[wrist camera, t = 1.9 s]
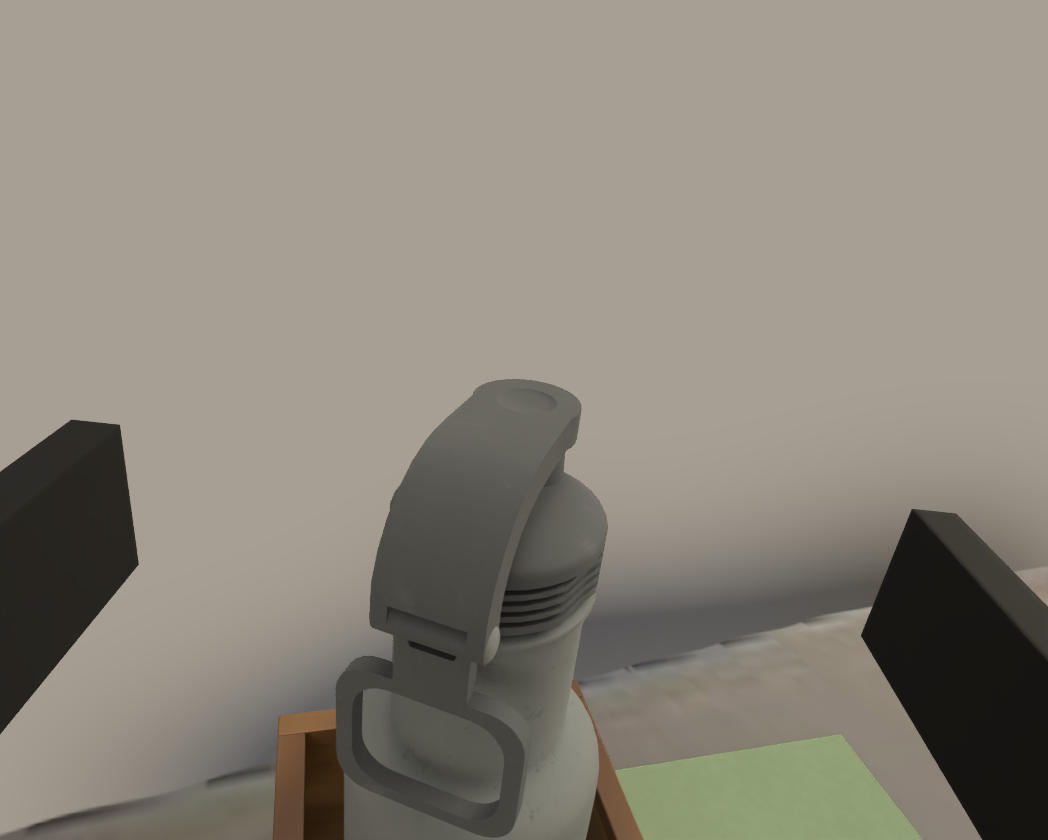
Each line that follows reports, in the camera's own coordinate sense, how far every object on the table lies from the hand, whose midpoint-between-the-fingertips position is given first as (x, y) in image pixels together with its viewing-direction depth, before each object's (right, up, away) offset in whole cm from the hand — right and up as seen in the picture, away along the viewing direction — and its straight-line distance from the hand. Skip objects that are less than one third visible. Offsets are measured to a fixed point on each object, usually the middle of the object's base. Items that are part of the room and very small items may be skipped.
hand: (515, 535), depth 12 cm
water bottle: (-3, -23, +22) cm, 32 cm away
